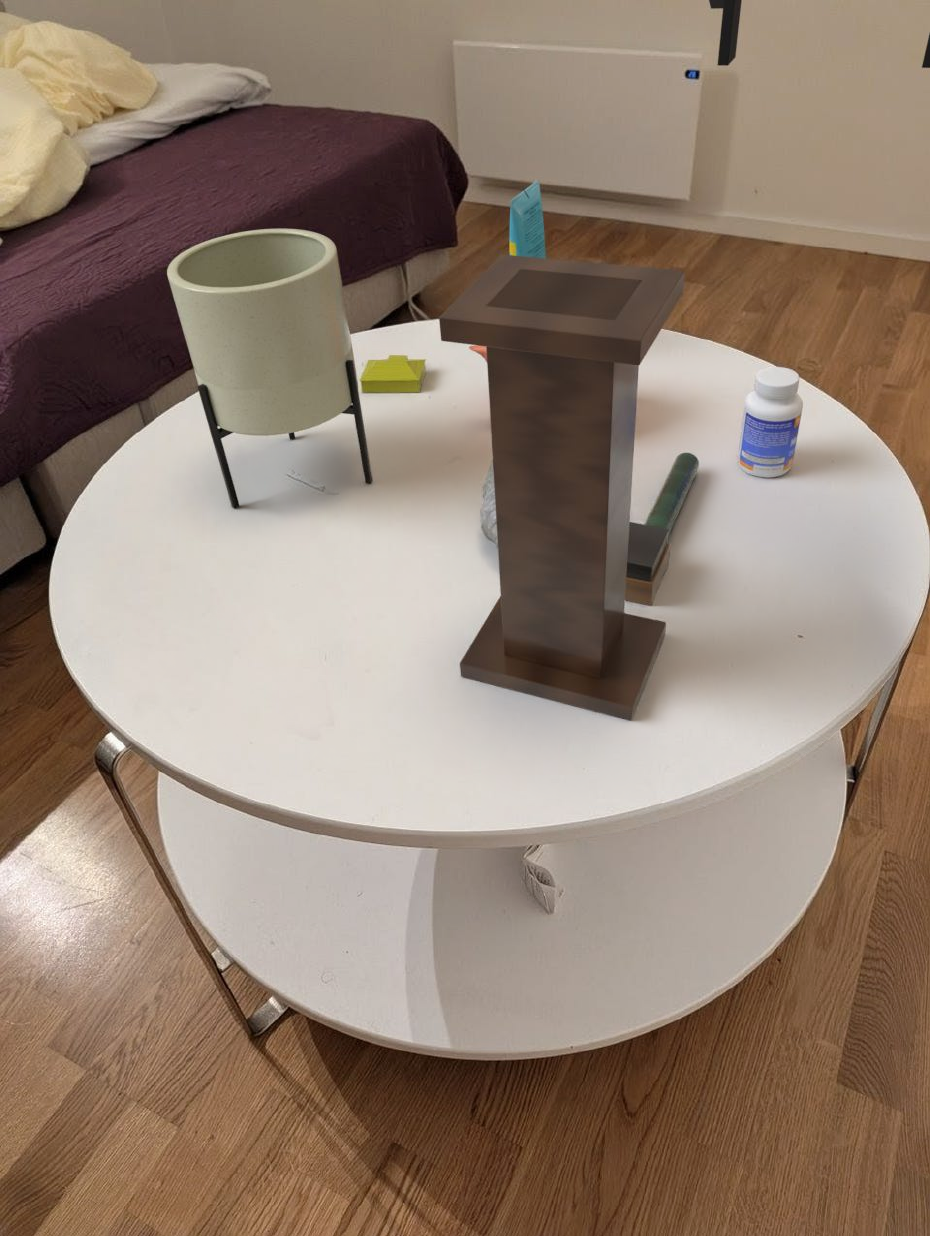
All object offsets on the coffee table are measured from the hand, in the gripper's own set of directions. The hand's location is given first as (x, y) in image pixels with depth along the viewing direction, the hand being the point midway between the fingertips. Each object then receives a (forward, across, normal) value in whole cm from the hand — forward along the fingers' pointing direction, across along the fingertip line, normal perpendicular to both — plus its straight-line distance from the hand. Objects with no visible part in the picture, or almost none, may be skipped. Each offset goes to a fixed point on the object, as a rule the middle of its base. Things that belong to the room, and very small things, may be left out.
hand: (824, 63), depth 65 cm
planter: (+37, +45, +10) cm, 59 cm away
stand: (+37, +10, +27) cm, 47 cm away
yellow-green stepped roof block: (+37, +45, -12) cm, 59 cm away
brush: (+37, +7, +8) cm, 38 cm away
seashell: (+37, +20, +12) cm, 44 cm away
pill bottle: (+37, 0, -6) cm, 37 cm away
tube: (+37, +32, -24) cm, 54 cm away
